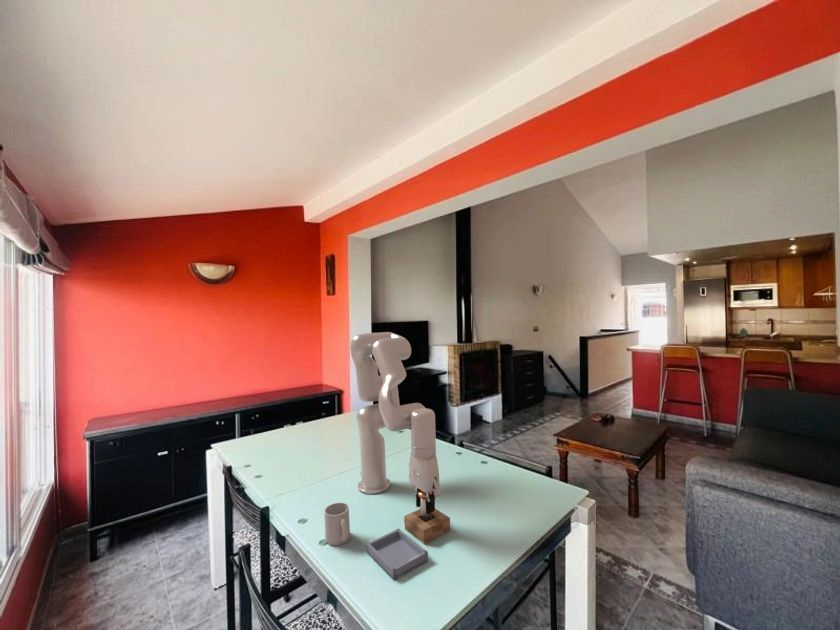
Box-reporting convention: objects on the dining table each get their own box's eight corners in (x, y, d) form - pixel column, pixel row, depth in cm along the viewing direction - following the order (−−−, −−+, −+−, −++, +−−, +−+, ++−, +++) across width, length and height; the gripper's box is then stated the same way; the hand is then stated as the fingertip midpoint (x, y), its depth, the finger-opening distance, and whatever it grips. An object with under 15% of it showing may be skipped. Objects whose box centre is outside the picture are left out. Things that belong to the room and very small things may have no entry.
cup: (344, 528, 112) (342, 500, 112) (358, 544, 104) (357, 513, 104) (321, 537, 108) (320, 508, 108) (334, 554, 100) (333, 522, 100)
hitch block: (404, 529, 110) (404, 516, 110) (429, 517, 116) (429, 504, 117) (424, 544, 102) (423, 530, 103) (450, 530, 109) (449, 517, 109)
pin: (416, 523, 110) (415, 491, 110) (427, 518, 113) (426, 486, 113) (424, 530, 107) (423, 496, 107) (436, 524, 110) (435, 492, 110)
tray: (366, 552, 100) (366, 543, 100) (398, 536, 107) (398, 528, 107) (393, 580, 89) (393, 570, 89) (428, 560, 96) (427, 551, 96)
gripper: (398, 445, 114) (400, 502, 114) (431, 462, 101) (433, 526, 101) (417, 439, 119) (418, 494, 119) (451, 454, 105) (452, 516, 106)
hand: (425, 508), depth 110 cm, fingers closed on pin, 4 cm apart
